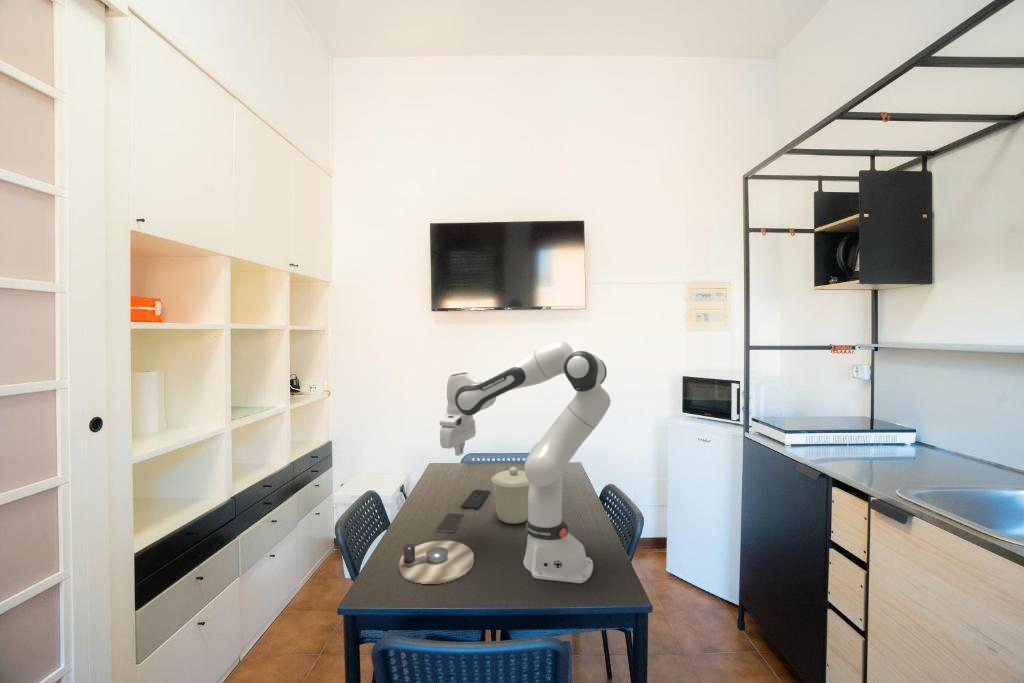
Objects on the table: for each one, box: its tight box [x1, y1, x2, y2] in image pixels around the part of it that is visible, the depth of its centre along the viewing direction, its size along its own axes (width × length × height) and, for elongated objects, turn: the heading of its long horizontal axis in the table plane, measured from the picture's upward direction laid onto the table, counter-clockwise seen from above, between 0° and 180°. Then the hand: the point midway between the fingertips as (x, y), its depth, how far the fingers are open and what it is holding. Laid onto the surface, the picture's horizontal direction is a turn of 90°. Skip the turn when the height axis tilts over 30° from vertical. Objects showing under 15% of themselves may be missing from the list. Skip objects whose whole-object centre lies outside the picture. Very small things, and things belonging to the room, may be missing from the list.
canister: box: [490, 466, 530, 525], centre depth 169 cm, size 18×18×21 cm
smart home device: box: [460, 489, 491, 511], centre depth 188 cm, size 8×2×20 cm
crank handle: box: [402, 543, 448, 566], centre depth 135 cm, size 14×7×6 cm, turn 113°
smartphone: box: [435, 512, 465, 534], centre depth 165 cm, size 7×1×16 cm
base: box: [398, 540, 475, 585], centre depth 136 cm, size 24×24×2 cm
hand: (459, 454), depth 152 cm, fingers closed
